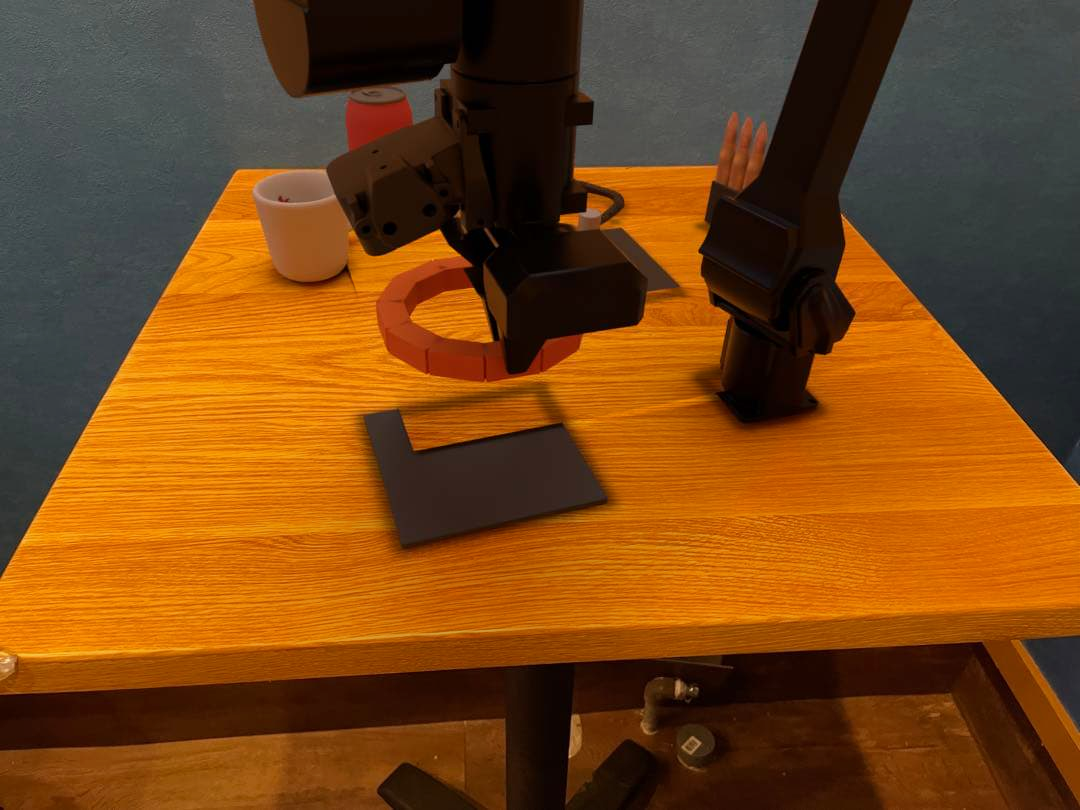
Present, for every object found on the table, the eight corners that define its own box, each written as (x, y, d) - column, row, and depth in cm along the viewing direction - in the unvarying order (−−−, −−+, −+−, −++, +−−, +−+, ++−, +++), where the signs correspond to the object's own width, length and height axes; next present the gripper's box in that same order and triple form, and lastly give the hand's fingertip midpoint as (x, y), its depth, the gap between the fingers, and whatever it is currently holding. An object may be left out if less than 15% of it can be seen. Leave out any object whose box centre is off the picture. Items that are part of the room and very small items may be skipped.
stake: (680, 294, 73) (689, 234, 70) (543, 314, 70) (546, 252, 66) (621, 234, 83) (626, 179, 80) (498, 249, 80) (498, 192, 76)
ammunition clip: (796, 261, 79) (825, 138, 72) (783, 266, 79) (812, 142, 71) (714, 223, 86) (734, 107, 79) (702, 227, 85) (721, 110, 78)
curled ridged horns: (583, 149, 91) (651, 172, 85) (578, 196, 94) (644, 222, 88) (490, 165, 83) (559, 192, 77) (488, 216, 86) (554, 246, 80)
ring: (615, 361, 47) (618, 337, 46) (403, 397, 43) (401, 372, 42) (544, 266, 56) (545, 245, 55) (364, 290, 52) (362, 267, 51)
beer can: (386, 192, 90) (377, 78, 83) (431, 207, 87) (425, 91, 80) (342, 210, 86) (327, 92, 79) (387, 227, 83) (377, 106, 76)
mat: (607, 502, 51) (608, 497, 51) (402, 549, 48) (402, 544, 47) (538, 387, 61) (538, 383, 61) (364, 419, 57) (363, 414, 57)
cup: (337, 233, 81) (327, 154, 77) (396, 256, 78) (389, 174, 73) (248, 272, 74) (231, 188, 69) (309, 299, 71) (295, 212, 66)
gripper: (303, 26, 41) (338, 302, 50) (367, 153, 27) (400, 504, 36) (516, 18, 44) (512, 279, 53) (674, 128, 30) (631, 456, 39)
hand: (511, 362), depth 45 cm, fingers closed on ring, 2 cm apart
